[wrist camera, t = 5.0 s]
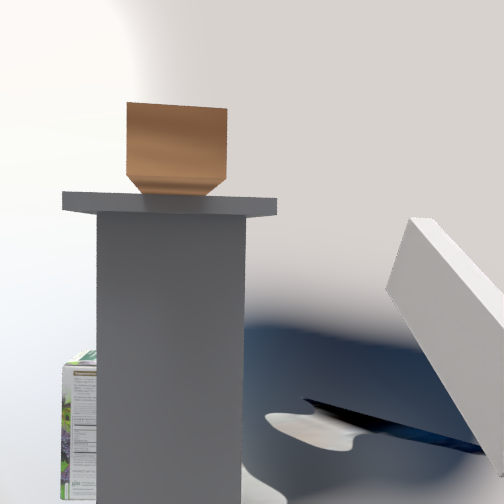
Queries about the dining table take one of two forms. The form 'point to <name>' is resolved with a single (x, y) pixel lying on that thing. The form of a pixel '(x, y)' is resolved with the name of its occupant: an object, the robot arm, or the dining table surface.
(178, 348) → the gray pedestal stand
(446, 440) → the dining table surface
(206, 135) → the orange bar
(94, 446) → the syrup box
